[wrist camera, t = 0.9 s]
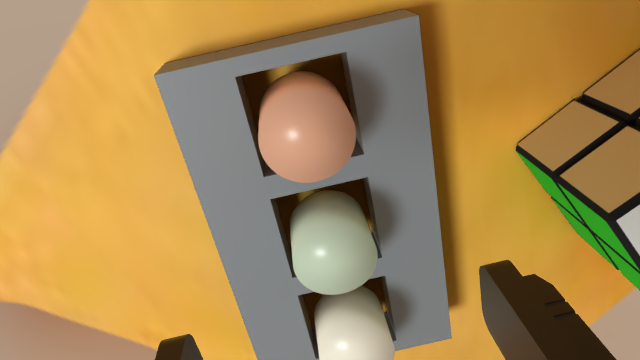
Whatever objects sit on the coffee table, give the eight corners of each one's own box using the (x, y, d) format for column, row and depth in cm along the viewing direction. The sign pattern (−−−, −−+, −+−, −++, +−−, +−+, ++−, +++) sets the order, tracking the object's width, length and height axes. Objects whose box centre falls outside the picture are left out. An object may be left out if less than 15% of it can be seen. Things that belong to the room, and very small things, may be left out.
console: (403, 8, 27) (418, 15, 24) (438, 310, 37) (451, 338, 35) (165, 63, 27) (153, 75, 24) (265, 349, 37) (265, 380, 34)
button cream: (375, 277, 32) (389, 318, 29) (385, 329, 34) (399, 373, 31) (307, 293, 32) (312, 336, 29) (321, 343, 34) (327, 389, 31)
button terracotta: (335, 62, 26) (346, 80, 22) (350, 142, 28) (362, 171, 24) (249, 82, 26) (246, 103, 22) (271, 160, 28) (271, 191, 24)
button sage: (358, 182, 29) (370, 215, 25) (369, 246, 31) (383, 284, 28) (281, 200, 29) (283, 235, 25) (298, 262, 31) (303, 302, 27)
